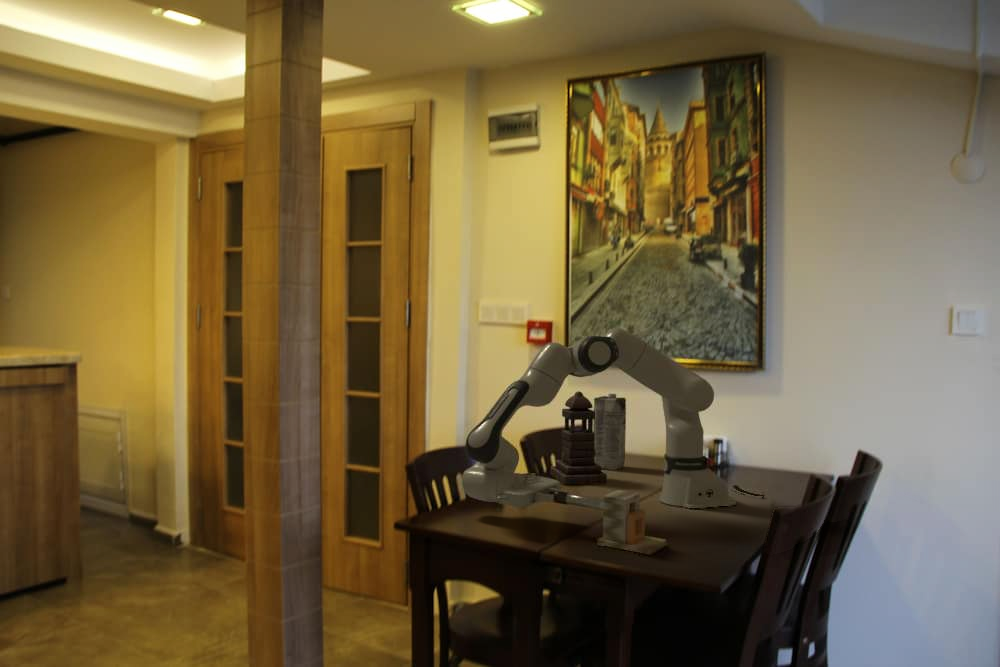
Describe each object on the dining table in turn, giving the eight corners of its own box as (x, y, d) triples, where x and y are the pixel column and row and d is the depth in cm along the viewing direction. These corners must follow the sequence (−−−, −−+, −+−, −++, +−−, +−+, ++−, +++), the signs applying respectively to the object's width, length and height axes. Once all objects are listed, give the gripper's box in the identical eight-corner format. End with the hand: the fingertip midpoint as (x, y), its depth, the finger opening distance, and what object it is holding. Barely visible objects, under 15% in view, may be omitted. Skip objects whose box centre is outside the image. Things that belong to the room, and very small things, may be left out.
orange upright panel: (626, 543, 199) (627, 514, 199) (638, 536, 205) (639, 508, 205) (632, 544, 198) (633, 515, 198) (644, 537, 204) (644, 509, 204)
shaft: (547, 502, 214) (547, 491, 214) (553, 500, 216) (553, 488, 216) (611, 513, 203) (611, 501, 203) (616, 511, 206) (616, 499, 206)
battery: (616, 471, 290) (618, 396, 288) (590, 468, 295) (591, 393, 294) (627, 467, 297) (628, 393, 296) (601, 464, 303) (602, 391, 302)
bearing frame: (597, 545, 202) (598, 496, 202) (615, 535, 210) (616, 488, 210) (649, 555, 194) (651, 504, 194) (666, 545, 202) (667, 496, 202)
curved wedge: (743, 500, 253) (743, 495, 252) (731, 490, 266) (731, 485, 266) (770, 500, 252) (770, 495, 252) (756, 490, 266) (757, 485, 266)
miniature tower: (607, 483, 270) (608, 393, 269) (564, 485, 267) (565, 394, 266) (590, 473, 286) (592, 388, 285) (549, 475, 283) (551, 389, 282)
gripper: (492, 484, 213) (538, 492, 205) (533, 471, 230) (577, 478, 222) (492, 508, 213) (537, 517, 205) (533, 494, 230) (576, 501, 222)
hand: (558, 496), depth 214 cm, fingers closed on shaft, 3 cm apart
